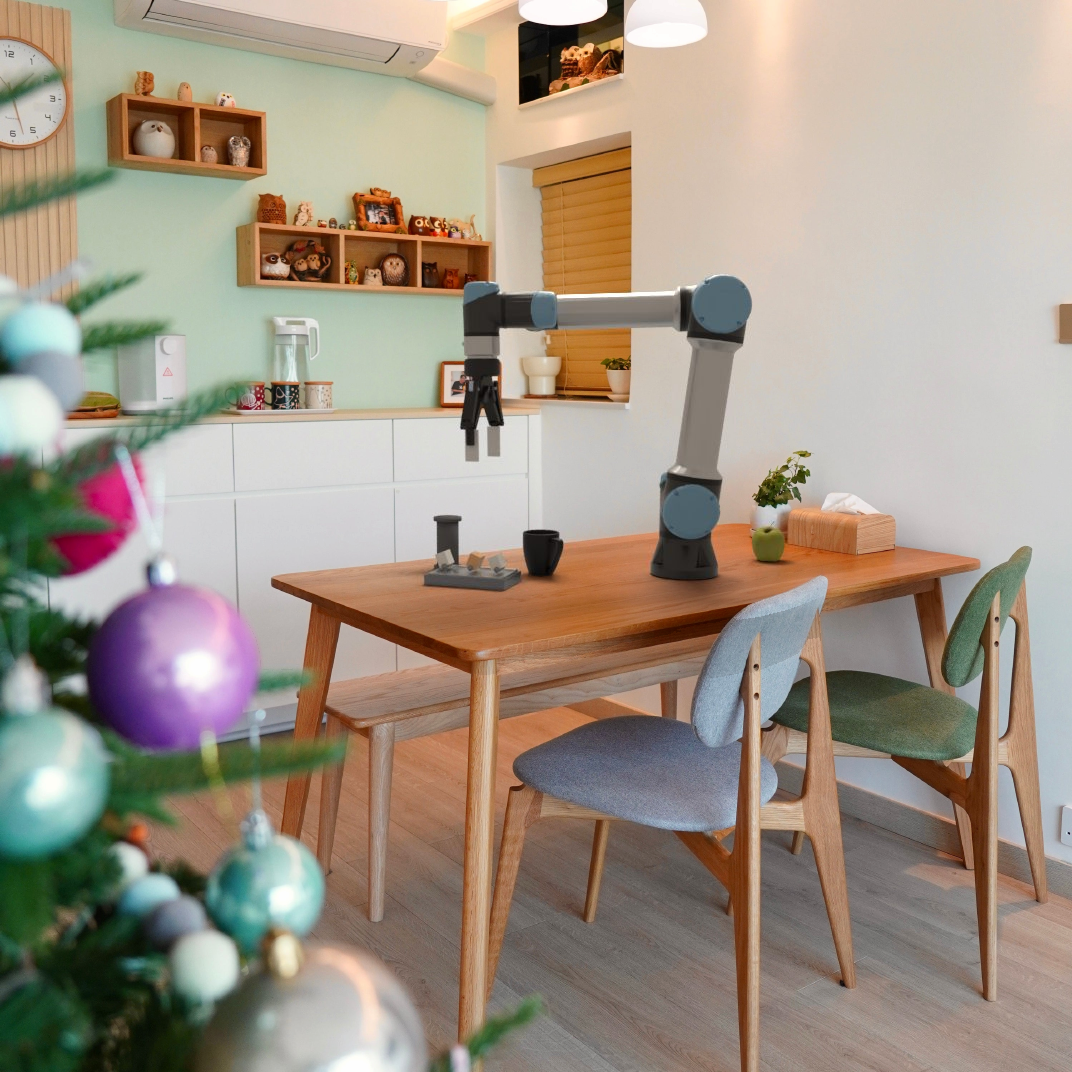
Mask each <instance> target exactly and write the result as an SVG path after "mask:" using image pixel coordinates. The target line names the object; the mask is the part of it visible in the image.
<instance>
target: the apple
mask: <svg viewBox="0 0 1072 1072" xmlns="http://www.w3.org/2000/svg"><path fill="white" fill-rule="evenodd" d="M774 523H775V521H773V522H772V523H771V525H766V526H761V527H759V528H757V529H756V530H755V531H754V532H753V534H752V538H751V546H752V551H753V553H754V556H755V558H756V559H757V560H759V561H760V562H777V561H779V560H780V559H781V558H782V556H783V555H784V551H785V547H786V539H785V538H786V537H785V536H784V534H783V532H782V531H781V530H780V529H779V528H778V527H775V526H773V524H774Z"/></svg>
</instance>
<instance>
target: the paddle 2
mask: <svg viewBox="0 0 1072 1072" xmlns="http://www.w3.org/2000/svg"><path fill="white" fill-rule="evenodd" d="M486 559H487V561H488V565H489V567H491V570H492V571H494V572H496V573H498V572H500V571H502V570H504V569H505V568H506V567H507V565H508V564H507V563H506V560H505V558H504V555H503V552H499V553H495V554H493V555H491V556H489V557H487V558H486Z"/></svg>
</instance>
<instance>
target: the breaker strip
mask: <svg viewBox="0 0 1072 1072" xmlns="http://www.w3.org/2000/svg"><path fill="white" fill-rule="evenodd" d="M467 567H468V566H466V564H461V565H454V564H453V565H452V566H451V567H448V568H446V569H442V567H441V568H438V569H436V570H435V569H434V570H431V571H429V572H427V573H425V574H423V585H424V586H434V587H435V586H438V587H450V588H451V587H452V588H464V589H465V588H467V589H478V590H493V591H505V590H507V589H509V588H511V587H513V586H514V585H516V584H518V583H520V582H521V581H522V570H518V568H514V567H511V568H510V567H505V569H504V570H502V571H500V572H498V573H496V572H494V571H492V570H491V567H490V566H482V565H481V568H479V569H477V570H472V571H469V570H468V569H467Z"/></svg>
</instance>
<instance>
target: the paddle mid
mask: <svg viewBox="0 0 1072 1072" xmlns="http://www.w3.org/2000/svg"><path fill="white" fill-rule="evenodd" d="M485 557H486V555H485V554H483V553H482V552H479V551H476V550H475V551H472V552H470V553H469V556H468V559H467V561H466V564H465V565H466V566H468V567H467V569H468V570H469V571H472V570H477V569H479V568H481V566H482V565H483V563H484V560H485Z"/></svg>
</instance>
